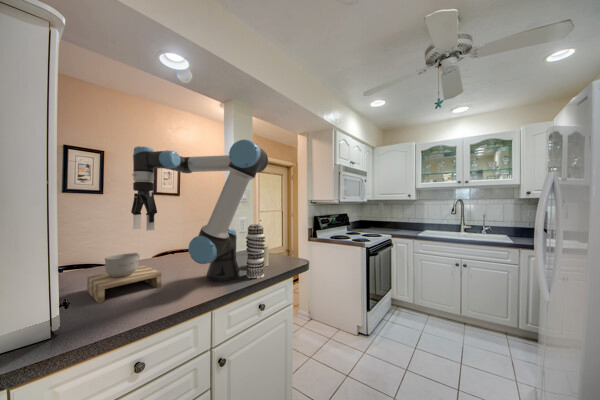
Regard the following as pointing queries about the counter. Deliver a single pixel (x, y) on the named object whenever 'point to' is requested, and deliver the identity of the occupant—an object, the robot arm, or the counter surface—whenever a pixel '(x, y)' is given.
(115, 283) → the wooden riser stand
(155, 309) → the counter surface
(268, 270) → the counter surface
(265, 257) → the can
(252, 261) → the decorative candle
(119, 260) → the teacup
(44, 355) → the counter surface
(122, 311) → the counter surface
